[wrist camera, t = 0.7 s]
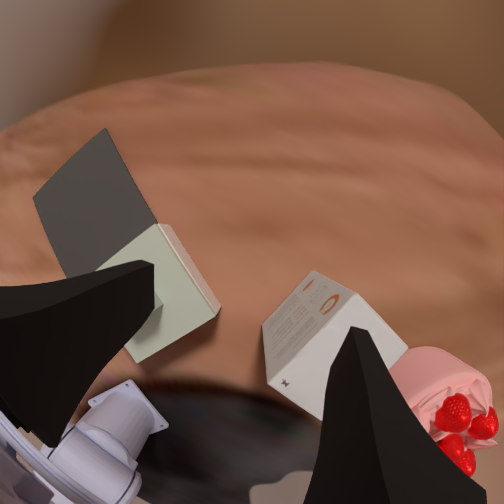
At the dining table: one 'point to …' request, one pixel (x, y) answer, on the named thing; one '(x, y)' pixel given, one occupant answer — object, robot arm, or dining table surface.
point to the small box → (318, 338)
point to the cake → (448, 402)
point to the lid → (163, 294)
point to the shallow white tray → (190, 266)
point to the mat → (92, 207)
